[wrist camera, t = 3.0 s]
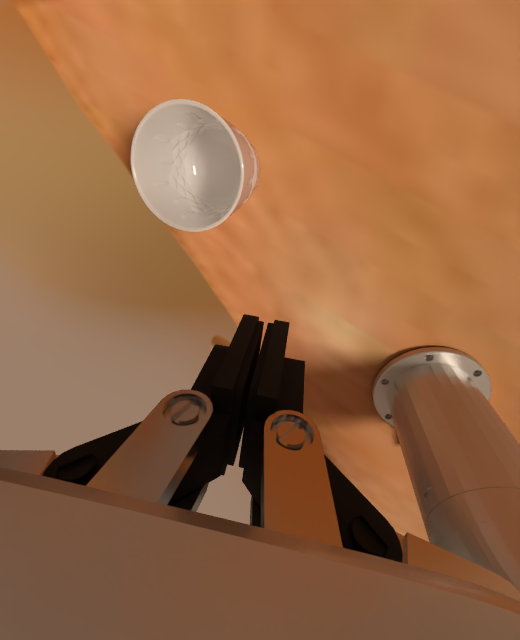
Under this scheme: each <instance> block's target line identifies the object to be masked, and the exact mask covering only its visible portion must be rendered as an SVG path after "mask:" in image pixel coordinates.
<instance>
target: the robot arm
mask: <svg viewBox="0 0 520 640" xmlns="http://www.w3.org/2000/svg"><path fill="white" fill-rule="evenodd" d="M263 325H264V322H262V321H259V317H256V316H251V315H245V314H244V315H243V317H242V320H241V322H240V324H239V326H238V328H237V331H236V333H235V335H234V337H233V339H232V342H231V344H230V346H229V347H227V346H222V345H217V344H216V345H215V346H214V347H213V349H212V351H211V353H210V355H209V357H208V359H207V361H206V362H205V364H204V366H203V368H202V370H201V372H200V373H199V375H198V377H197V379H196V381H195V383H194V385H193V387H192V388H191V390H180V391H176V392H173V393H171V394H169V395H167V396H166V397H165V398H163V399H162V400H161V401H160V402H159V403H158V405H157V406H156V407H155V408H154V409H153V410H152V411H151V413H150V414H149V415H148V416H147V417H146V418H145V419H144V420H143V421H142V422H139V423H137V424H134V425H132V426H129V427H126V428H124V429H121V430H118V431H116V432H113V433H110V434H108V435H105V436H103V437H100V438H97V439H95V440H92V441H89V442H87V443H84V444H82V445H79V446H77V447H74V448H72V449H70V450H68V451H66V452H64V453H62V454H61V455H56V454H55V451H31V450H29V451H28V450H26V451H25V450H23V451H19V450H0V640H520V444H519V442H518V441H517V440H516V438H515V437H514V436H513V434H512V433H511V432H510V430H509V429H508V427H507V426H506V425H505V423H504V422H503V421H502V419H501V418H500V416H499V415H498V414H497V412H496V411H495V410H494V408H493V407H492V406H491V404H490V403H489V399H490V395H491V382H490V379H489V376H488V374H487V373H486V371H485V370H484V368H483V367H482V366H481V365H480V364H479V363H478V362H477V361H476V360H475V359H474V358H472V357H471V356H469V355H468V354H466V353H463V352H461V351H459V350H455V349H450V348H444V347H428V348H421V349H416V350H412V351H409V352H407V353H404V354H401V355H400V356H398V357H396V358H394V359H393V360H391V361H390V362H389V363H388V364H386V365H385V366H384V367H383V368H382V370H381V371H380V372H379V373H378V375H377V377H376V379H375V381H374V384H373V388H372V397H373V401H374V405H375V408H376V410H377V412H378V413H379V415H380V416H381V418H383V419H384V420H385V421H386V422H387V423H388V424H390V425H391V426H393V427H395V429H396V433H397V436H398V439H399V443H400V446H401V449H402V453H403V456H404V459H405V462H406V466H407V469H408V472H409V476H410V479H411V482H412V486H413V489H414V492H415V496H416V499H417V502H418V506H419V509H420V512H421V516H422V519H423V522H424V526H425V529H426V532H427V536H428V539H429V542H430V543H429V542H427V541H425V540H423V539H421V538H418V537H416V536H414V535H412V534H410V533H408V532H407V533H406V535H405V536H403V535H401V534H399V533H397V532H395V530H394V529H393V527H392V526H391V525H390V523H389V522H388V521H387V520H386V519H385V517H384V516H383V515H382V514H381V513H380V512H379V511H378V510H377V509H376V508H375V507H374V506H373V505H372V504H371V503H370V502H369V501H368V500H367V499H366V498H365V497H364V496H363V495H362V494H361V492H360V491H359V490H358V489H357V488H356V487H355V486H354V485H353V484H352V483H351V482H350V481H349V480H348V479H347V478H346V477H345V476H344V475H343V474H342V473H341V472H340V471H339V470H338V469H337V467H336V466H335V465H334V464H333V463H332V462H331V461H330V460H329V459H328V458H327V457H326V456H325V455H324V452H323V447H322V442H321V438H320V433H319V431H318V428H317V426H316V425H315V423H314V422H313V421H312V420H311V419H310V418H308V417H307V416H306V415H304V414H303V395H304V372H305V362H304V361H300V360H295V359H290V358H285V357H284V356H285V349H286V342H287V336H288V329H289V322H284V321H278V320H275V321H274V324H273V323H268V325H267V329H266V333H265V336H264V340H263V343H262V347H261V350H260V346H261V339H262V332H263ZM259 353H260V354H259ZM243 428H244V431H243ZM242 432H243V438H242V446H241V453H240V460H239V467H241V468H244V471H243V479H242V481H243V483H244V484H245V486H246V487H247V489H248V490H249V492H250V494H251V495H252V498H251V510H250V525H248V524H243V523H239V522H235V521H231V520H227V519H223V518H218V517H214V516H210V515H206V514H202V513H198V512H196V511H197V509H198V507H199V505H200V503H201V501H202V499H203V497H204V495H205V493H206V490H207V487H208V483H209V482H210V481H212V480H214V479H216V478H217V477H219V476H220V475H224V474H225V470H226V467H227V464H228V465H232V466H233V465H234V462H235V458H236V454H237V451H238V447H239V442H240V439H241V435H242Z"/></svg>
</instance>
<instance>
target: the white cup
mask: <svg viewBox="0 0 520 640" xmlns="http://www.w3.org/2000/svg"><path fill="white" fill-rule="evenodd" d="M130 158H131V170H132V175H133V179H134V182H135V185H136V188H137V190H138V192H139V194H140V196H141V198H142V200H143V201H144V203H145V204H146V206H147V207H148V208H149V209H150V211H151V212H152V213H153V214H154V215H155V216H156V217H158V218H159V219H160V220H161V221H163V222H164V223H166V224H167V225H169V226H171V227H173V228H176V229H179V230H182V231H188V232H200V231H205V230H209V229H212V228H214V227H216V226H218V225H219V224H221V223H222V222H223V221H225V220H226V219H227V218H228V217H229V216H231V215H232V214H233V213H234V212H236V211H237V210H238V209H239V208H240V207H241V206H242V205H243V204H244V203H245V202H246V201H247V200H248V199H249V197H250V196H251V194H252V193H253V191H254V190H255V188H256V187H257V184H258V178H259V172H260V165H259V161H258V157H257V153H256V150H255V148H254V147H253V146H252V144H251V143H250V142H249V140H248V139H247V138H246V136H245V135H244V134H243V133H242V132H241V131H239V130H238V129H237V128H236V127H235V126H234V125H233V124H231V123H230V122H228V121H227V120H226V119H224V118H223V117H221V116H220V115H219V114H217V113H216V112H215V111H213V110H212V109H211V108H209V107H207V106H205V105H204V104H201V103H199V102H196V101H193V100H187V99H174V100H169V101H165V102H163V103H161V104H159V105H157V106H155V107H154V108H152V109H151V110H150V111H149V112H148V113H147V114H146V115H145V116H144V117H143V119H142V120H141V121H140V123H139V125H138V127H137V129H136V131H135V134H134V137H133V140H132V145H131V156H130Z"/></svg>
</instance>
